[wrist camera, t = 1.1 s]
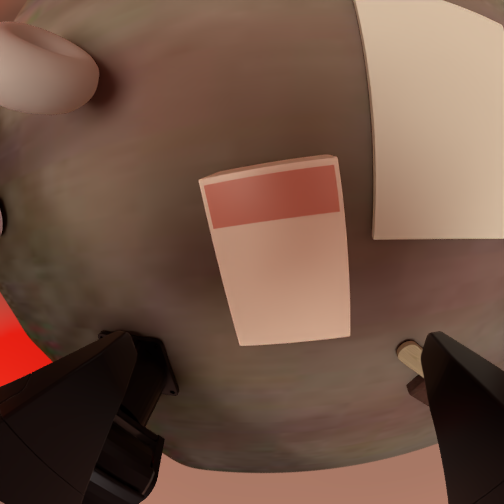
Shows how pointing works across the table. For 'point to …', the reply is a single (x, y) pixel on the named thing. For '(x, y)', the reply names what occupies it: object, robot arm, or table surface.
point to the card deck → (281, 249)
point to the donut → (43, 71)
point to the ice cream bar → (414, 369)
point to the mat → (434, 119)
